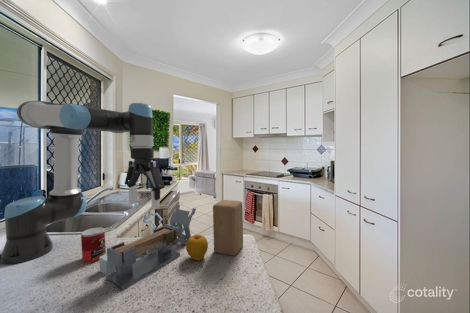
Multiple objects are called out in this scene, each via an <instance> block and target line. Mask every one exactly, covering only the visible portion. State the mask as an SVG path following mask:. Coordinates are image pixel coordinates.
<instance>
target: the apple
mask: <svg viewBox="0 0 470 313" xmlns="http://www.w3.org/2000/svg"><path fill="white" fill-rule="evenodd" d="M186 240H187V239H186ZM186 243H187V244H186V245H185V249H186V253H187V254H188V256H189V257H190V258H191V259H192V260H194V261H201V260H202V259H204V257H205V255H206V254H207V251H208V248H209V244H208V243H209V242H208V240H207V238H206V236H205V235H202V234H194V235H191V237H190V238H189V239H188V240H187V242H186Z"/></svg>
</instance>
